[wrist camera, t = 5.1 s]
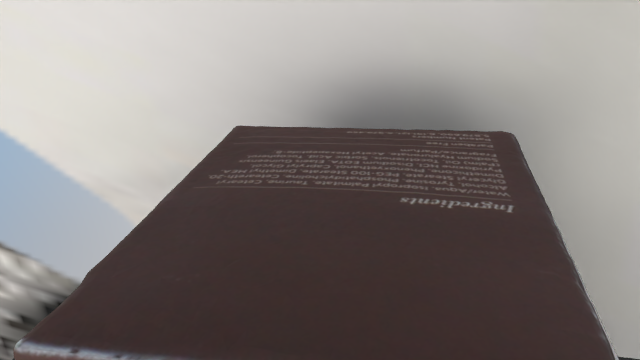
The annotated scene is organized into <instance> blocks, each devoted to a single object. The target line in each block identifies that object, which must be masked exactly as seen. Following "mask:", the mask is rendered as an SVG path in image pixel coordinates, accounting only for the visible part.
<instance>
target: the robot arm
mask: <svg viewBox="0 0 640 360" xmlns="http://www.w3.org/2000/svg"><path fill="white" fill-rule="evenodd" d="M553 220H554V218H553ZM554 222H555V221H554ZM555 225H556V223H555ZM556 226H557V225H556ZM557 228H558V227H557ZM558 230H559V229H558ZM559 232H560V231H559ZM561 237H562V236H561ZM562 239H563V238H562ZM563 242H564V240H563ZM564 245H565V247H566V249H567V246H566V244H565V242H564ZM567 251H568V249H567ZM568 254H569V255H570V253H569V251H568ZM570 257H571V255H570ZM571 258H572V257H571ZM572 261H573V259H572ZM573 263H574V262H573ZM574 265H575V264H574ZM575 268H576V266H575ZM576 270H577V268H576ZM577 272H578V270H577ZM578 274H579V272H578ZM579 276H580V275H579ZM580 279H581V277H580ZM581 281H582V279H581ZM582 284H583V286H584V289H585V292H586V294H587V296H588V298H589V300H590V302H591V303H592V300H591V298H590V296H589V294H588V292H587V290H586V287H585V285H584V283H583V281H582ZM592 305H593V303H592ZM593 307H594V305H593ZM594 309H595V307H594ZM595 311H596V309H595ZM596 314H597V316H598V319H599V321H600V324H601V326H602V328H603V330H604V332H605V334H606V336H607V339H608V341H609V343H610V346H611V348H612V351H613V354H614V357H615V360H640V359H632V358H623V357H618V356H617V354H616V352H615V350H614V348H613V346H612V344H611V341H610V339H609V337H608V335H607V333H606V331H605V328H604V326H603V324H602V322H601V320H600V318H599V315H598V313H597V311H596ZM13 360H15V359H13Z"/></svg>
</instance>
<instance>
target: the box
mask: <svg viewBox="0 0 640 360" xmlns="http://www.w3.org/2000/svg"><path fill="white" fill-rule="evenodd" d="M13 351H14V359H15V360H615V357H614V354H613V351H612V348H611V346H610V343H609V341H608V339H607V336H606V334H605V332H604V330H603V328H602V326H601V324H600V321H599V319H598V316H597V314H596V311H595V309H594V307H593V305H592V303H591V302H590V300H589V298H588V296H587V294H586V292H585V289H584V286H583V284H582V281H581V279H580V276H579V274H578V272H577V270H576V268H575V265H574V263H573V261H572V258H571V257H570V255H569V254H568V251H567V249H566V247H565V245H564V242H563V239H562V237H561V234H560V232H559V230H558V228H557V226H556V225H555V222H554V220H553V217H552V214H551V212H550V210H549V208H548V206H547V204H546V202H545V199H544V197H543V195H542V194H541V191H540V189H539V187H538V185H537V183H536V181H535V179H534V177H533V175H532V173H531V170H530V169H529V167H528V164H527V162H526V160H525V158H524V155H523V153H522V150H521V148H520V145H519V143H518V141H517V139H516V137H515V136H514V135H513V134H511V133H507V132H503V131H497V132H480V131H451V130H440V131H436V130H398V129H356V128H312V127H264V126H258V127H255V126H236V127H235V128H233V130H232V131H231V132H230V133H229V134H228V135H227V136H226V137H225V138H224V139H223V141H222V142H220V143H219V144H218V145H217V147H215V148H214V149H213V150H212V151H211V152H210V153H209V154H208V155H207V156H206V157H205V158H204V159H203V160H202V161H201V162H200V163H199V164H198V165H197V166H196V167H195V168H194V169H193V170H191V171H190V173H189V174H188V175H187V176H186V177H185V178H184V179H183V180H182V181H181V182H180V183H179V184H178V185H177V186H176V187H175V188H174V189H173V190H172V191H171V192H170V193H169V194H168V195H167V196H166V197H165V198H164V199H163V200H162V201H161V202H160V203H159V204H158V205H157V206H156V207H155V209H154V210H153V211H152V212H150V213H149V214H148V216H147V217H146V218H145V219H143V220H142V221H141V222H140V223H139V224H138V225H137V226H136V227H135V228H134V229H133V230H132V231H131V232H130V234H128V235H127V236H126V237H125V238H124V239H123V240H122V241H121V242H120V243H119V244H118V245H117V246H116V247H115V248H114V249H113V250H112V251H111V252H110V253H109V254H108V255H107V256H106V257H105V258H104V259H103V260H102V261H100V262H99V263H98V264H97V265H96V266H95V267H94V268H93V269H91V271H89V272H88V273H87V275H86V277H85V278H84V280H83V281H82V283H81V284H80V286H79V287H78V288H77V289H76V290H75V291H74V292H73V293H72V294H71V295H70V296H68V297H67V298H66V299H65V300H64V301H63V302H62V303H61V304H60V305H59V306H58V307H57V308H56V309H55V310H54V311H53V312H51V313H50V314H49V315H48V316H47V317H45V318H44V319H43V320H42V321H41V322H39V323H38V324H37V325H36V326H35V327H34V328H33V329H32V330H31V331H30V332H29V333H28V334H27V335H25V336H24V337H23V338H22V339H21V340H19V341H18V342H17V344H16V345H15V347H14V349H13Z"/></svg>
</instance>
